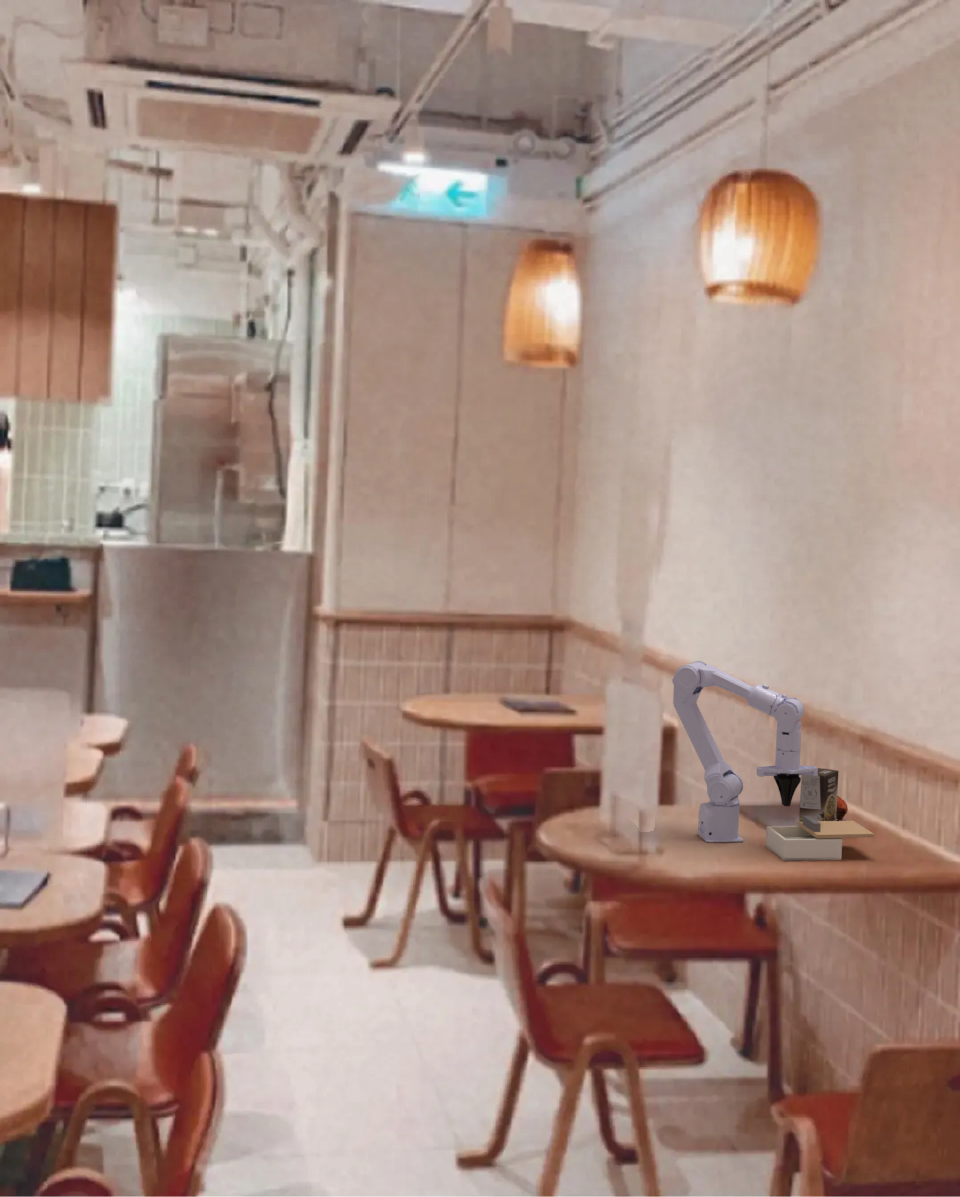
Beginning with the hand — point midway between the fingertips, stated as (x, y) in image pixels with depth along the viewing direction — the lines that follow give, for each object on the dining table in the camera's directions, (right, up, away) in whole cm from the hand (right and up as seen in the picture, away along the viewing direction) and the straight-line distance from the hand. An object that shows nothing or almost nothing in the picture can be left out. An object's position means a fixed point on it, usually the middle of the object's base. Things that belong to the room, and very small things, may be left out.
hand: (786, 805), depth 328 cm
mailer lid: (+11, -6, -3) cm, 13 cm away
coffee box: (+11, -10, +14) cm, 20 cm away
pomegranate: (+18, -9, +27) cm, 34 cm away
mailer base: (+3, -11, -3) cm, 12 cm away
